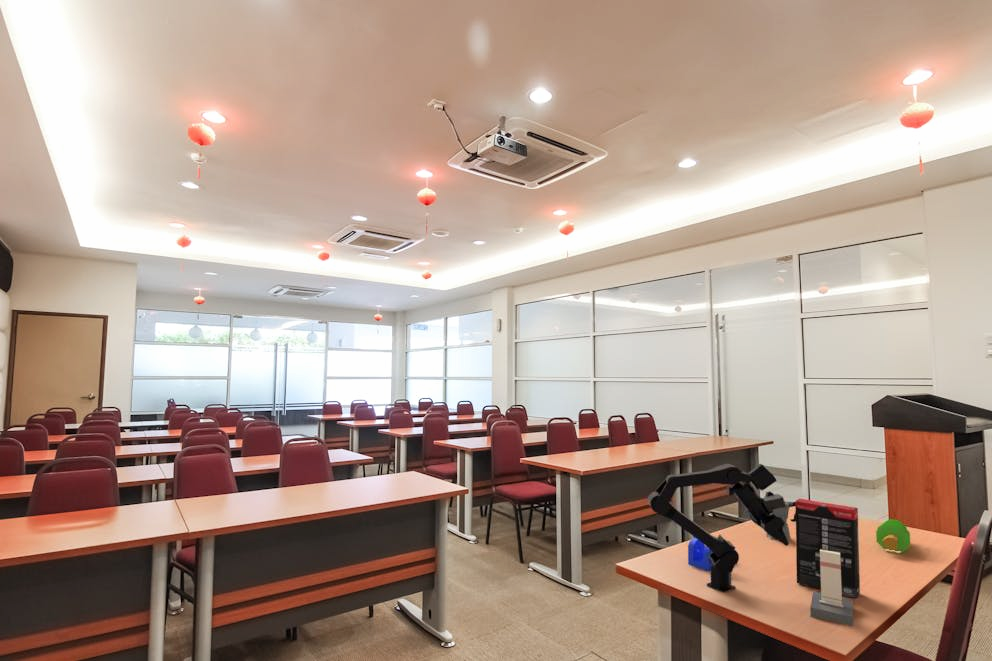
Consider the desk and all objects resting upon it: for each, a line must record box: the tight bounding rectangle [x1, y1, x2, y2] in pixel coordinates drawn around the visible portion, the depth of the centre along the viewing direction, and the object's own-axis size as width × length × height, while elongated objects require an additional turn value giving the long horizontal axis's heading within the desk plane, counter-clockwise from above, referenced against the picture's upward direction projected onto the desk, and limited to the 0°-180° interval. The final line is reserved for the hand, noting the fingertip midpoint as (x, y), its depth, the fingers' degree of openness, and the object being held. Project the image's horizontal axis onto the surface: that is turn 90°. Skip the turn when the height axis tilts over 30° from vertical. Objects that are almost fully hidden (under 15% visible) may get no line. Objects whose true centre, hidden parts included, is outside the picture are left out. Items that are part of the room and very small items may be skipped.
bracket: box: [687, 537, 712, 572], centre depth 193 cm, size 18×8×9 cm, turn 124°
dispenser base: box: [809, 590, 854, 627], centre depth 154 cm, size 10×14×3 cm
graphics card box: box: [794, 498, 861, 599], centre depth 172 cm, size 17×7×27 cm, turn 48°
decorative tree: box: [875, 518, 911, 553], centre depth 216 cm, size 11×12×30 cm
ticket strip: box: [820, 549, 843, 605], centre depth 155 cm, size 5×2×16 cm, turn 56°
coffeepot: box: [765, 500, 796, 542], centre depth 226 cm, size 15×9×18 cm, turn 70°
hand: (782, 540), depth 169 cm, fingers open, 9 cm apart
